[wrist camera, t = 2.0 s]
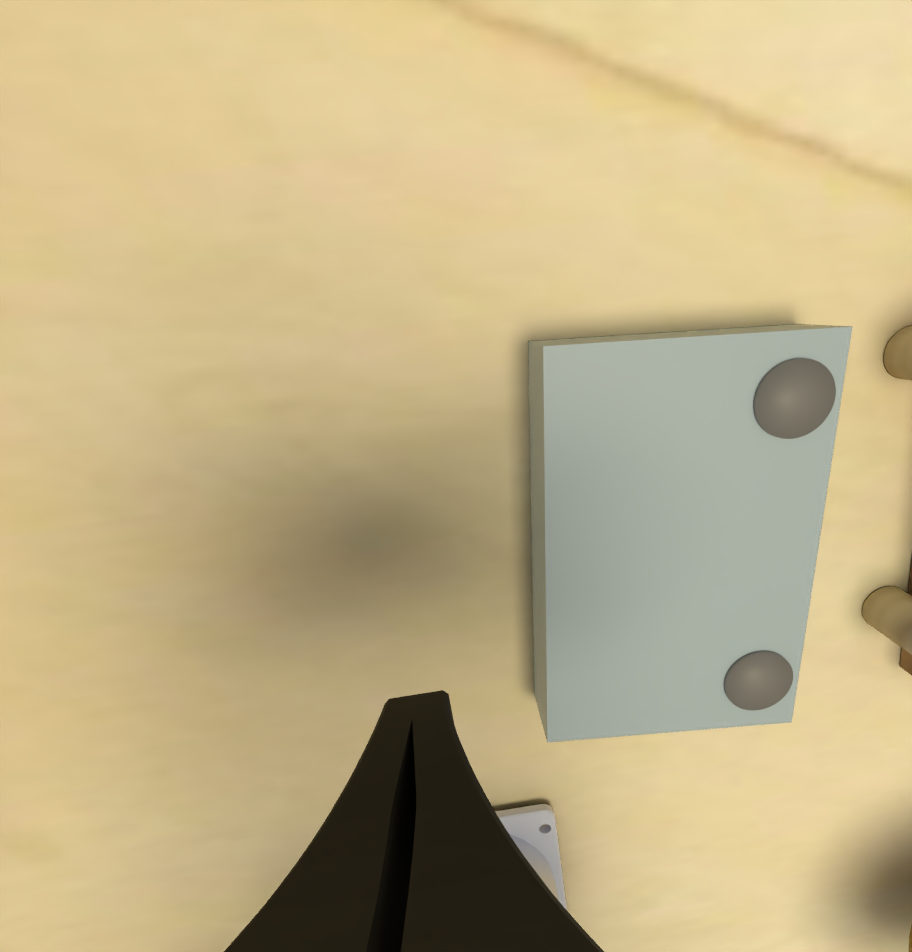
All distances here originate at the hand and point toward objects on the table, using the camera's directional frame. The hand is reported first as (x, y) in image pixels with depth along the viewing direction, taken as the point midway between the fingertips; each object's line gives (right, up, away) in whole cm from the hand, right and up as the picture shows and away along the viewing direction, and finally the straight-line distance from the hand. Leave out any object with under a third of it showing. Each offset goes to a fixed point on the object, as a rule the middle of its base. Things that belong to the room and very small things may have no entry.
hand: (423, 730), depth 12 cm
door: (+8, +4, +8) cm, 12 cm away
